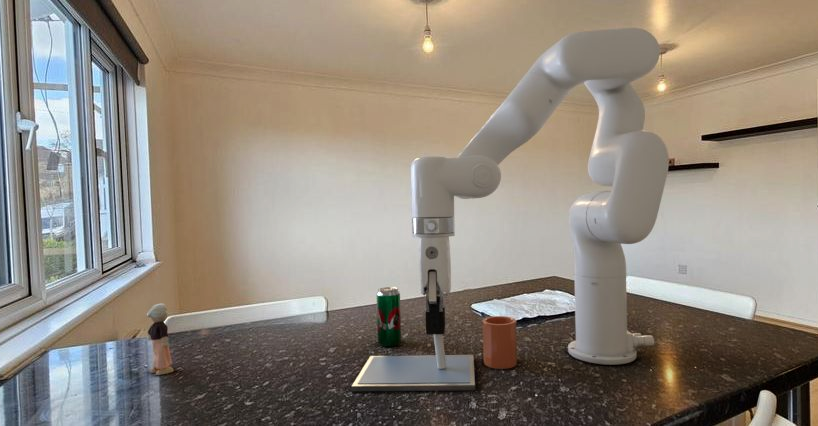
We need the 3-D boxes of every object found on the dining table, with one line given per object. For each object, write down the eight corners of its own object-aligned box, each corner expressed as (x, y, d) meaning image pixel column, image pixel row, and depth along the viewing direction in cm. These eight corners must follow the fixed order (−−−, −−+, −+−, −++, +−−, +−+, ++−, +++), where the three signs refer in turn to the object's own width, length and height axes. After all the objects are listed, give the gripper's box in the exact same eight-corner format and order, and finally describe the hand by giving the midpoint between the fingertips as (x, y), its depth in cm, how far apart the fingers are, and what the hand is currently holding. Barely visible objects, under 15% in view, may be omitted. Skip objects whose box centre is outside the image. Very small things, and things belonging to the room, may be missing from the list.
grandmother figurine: (184, 369, 81) (181, 303, 81) (163, 377, 77) (160, 307, 77) (158, 364, 84) (156, 300, 84) (137, 371, 81) (135, 304, 81)
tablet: (473, 359, 83) (473, 354, 83) (475, 390, 69) (475, 384, 69) (370, 360, 83) (370, 355, 83) (351, 391, 69) (351, 385, 69)
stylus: (446, 365, 76) (438, 298, 76) (446, 368, 75) (437, 300, 75) (437, 366, 77) (429, 299, 76) (437, 369, 75) (428, 301, 75)
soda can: (403, 340, 96) (401, 286, 95) (398, 347, 90) (397, 291, 90) (381, 340, 96) (379, 286, 96) (375, 347, 91) (373, 291, 91)
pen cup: (514, 356, 83) (513, 315, 83) (519, 368, 77) (518, 324, 77) (483, 357, 84) (482, 316, 83) (484, 369, 77) (483, 325, 77)
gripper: (453, 229, 67) (456, 346, 68) (455, 225, 83) (457, 320, 83) (406, 230, 68) (408, 346, 68) (416, 226, 83) (419, 320, 84)
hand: (435, 331), depth 76 cm, fingers closed on stylus, 1 cm apart
